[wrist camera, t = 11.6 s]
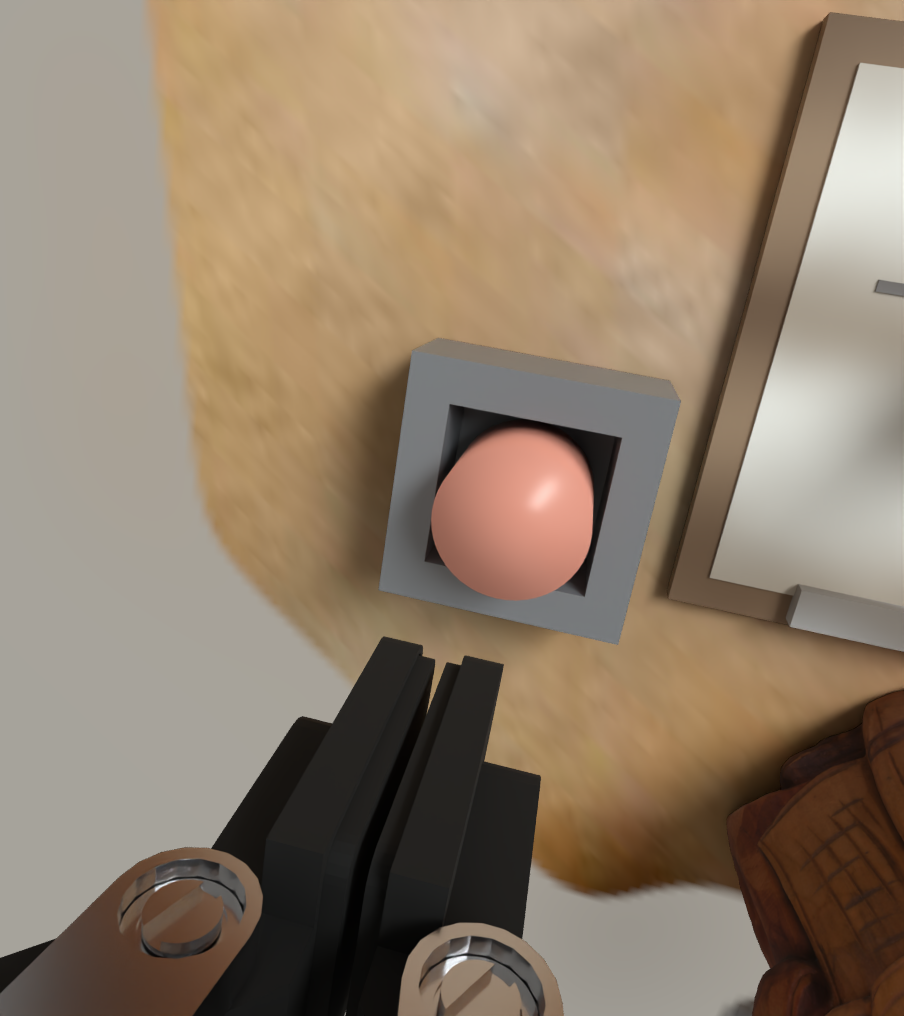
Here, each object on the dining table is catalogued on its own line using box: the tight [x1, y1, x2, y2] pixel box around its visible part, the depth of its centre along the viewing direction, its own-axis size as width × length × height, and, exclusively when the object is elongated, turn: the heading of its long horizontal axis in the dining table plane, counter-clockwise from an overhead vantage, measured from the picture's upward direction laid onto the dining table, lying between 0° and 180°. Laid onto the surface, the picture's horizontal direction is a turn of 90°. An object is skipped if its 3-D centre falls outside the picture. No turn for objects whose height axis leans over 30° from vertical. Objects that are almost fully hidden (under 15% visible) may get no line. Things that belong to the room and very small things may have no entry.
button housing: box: [379, 338, 681, 645], centre depth 23 cm, size 7×7×4 cm
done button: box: [431, 419, 594, 601], centre depth 21 cm, size 4×4×4 cm
